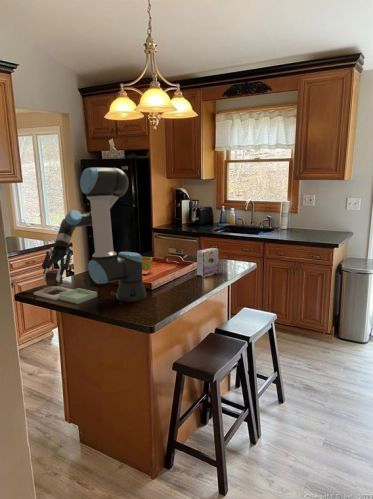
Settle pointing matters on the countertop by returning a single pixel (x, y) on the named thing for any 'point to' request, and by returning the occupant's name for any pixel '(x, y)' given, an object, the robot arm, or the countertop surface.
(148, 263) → the plant pot
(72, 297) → the tray
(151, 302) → the countertop surface
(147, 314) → the countertop surface
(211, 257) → the candy box
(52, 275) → the box
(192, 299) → the countertop surface
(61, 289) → the socket block
